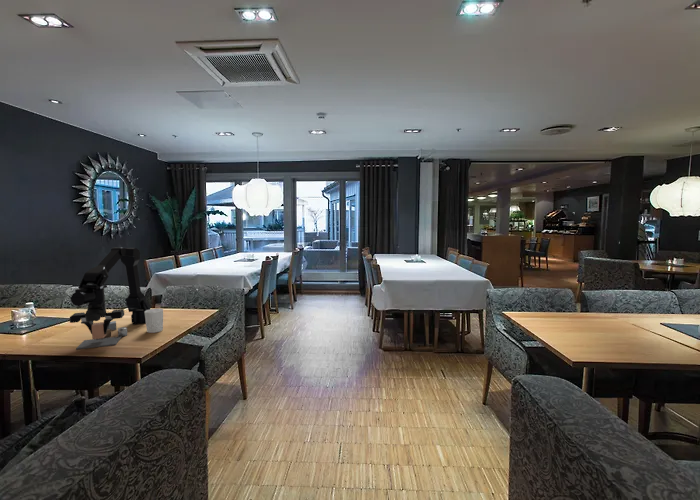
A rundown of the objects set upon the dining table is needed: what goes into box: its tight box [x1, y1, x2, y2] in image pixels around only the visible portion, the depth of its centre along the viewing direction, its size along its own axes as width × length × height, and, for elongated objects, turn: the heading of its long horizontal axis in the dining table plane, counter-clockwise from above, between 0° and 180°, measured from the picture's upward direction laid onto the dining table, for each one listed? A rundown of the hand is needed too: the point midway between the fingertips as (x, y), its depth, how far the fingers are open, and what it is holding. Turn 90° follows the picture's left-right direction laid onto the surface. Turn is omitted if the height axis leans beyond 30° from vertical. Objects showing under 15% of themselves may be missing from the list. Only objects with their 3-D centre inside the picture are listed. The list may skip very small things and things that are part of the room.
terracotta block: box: [91, 321, 106, 339], centre depth 152 cm, size 4×4×6 cm
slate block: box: [108, 320, 118, 331], centre depth 171 cm, size 4×4×4 cm
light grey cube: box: [117, 326, 128, 338], centre depth 162 cm, size 4×4×4 cm
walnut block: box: [99, 329, 112, 339], centre depth 160 cm, size 4×4×4 cm
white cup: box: [145, 308, 164, 334], centre depth 169 cm, size 8×8×10 cm
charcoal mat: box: [76, 335, 122, 351], centre depth 153 cm, size 14×10×1 cm
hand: (99, 334), depth 152 cm, fingers closed on terracotta block, 4 cm apart
